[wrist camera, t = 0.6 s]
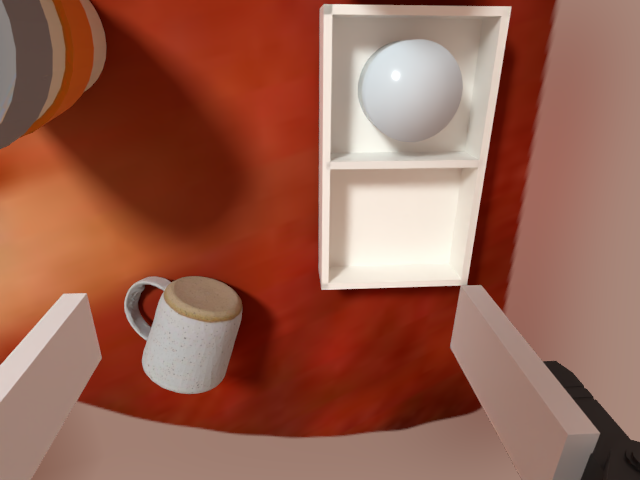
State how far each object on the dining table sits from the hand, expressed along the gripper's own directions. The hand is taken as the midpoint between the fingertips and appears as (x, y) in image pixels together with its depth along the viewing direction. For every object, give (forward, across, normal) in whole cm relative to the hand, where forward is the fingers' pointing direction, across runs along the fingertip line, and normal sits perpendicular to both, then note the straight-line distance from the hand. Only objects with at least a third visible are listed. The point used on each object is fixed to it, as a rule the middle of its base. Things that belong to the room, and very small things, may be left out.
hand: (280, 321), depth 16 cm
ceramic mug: (+24, -10, -15) cm, 30 cm away
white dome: (+23, +10, +6) cm, 26 cm away
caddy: (+24, +10, 0) cm, 26 cm away
